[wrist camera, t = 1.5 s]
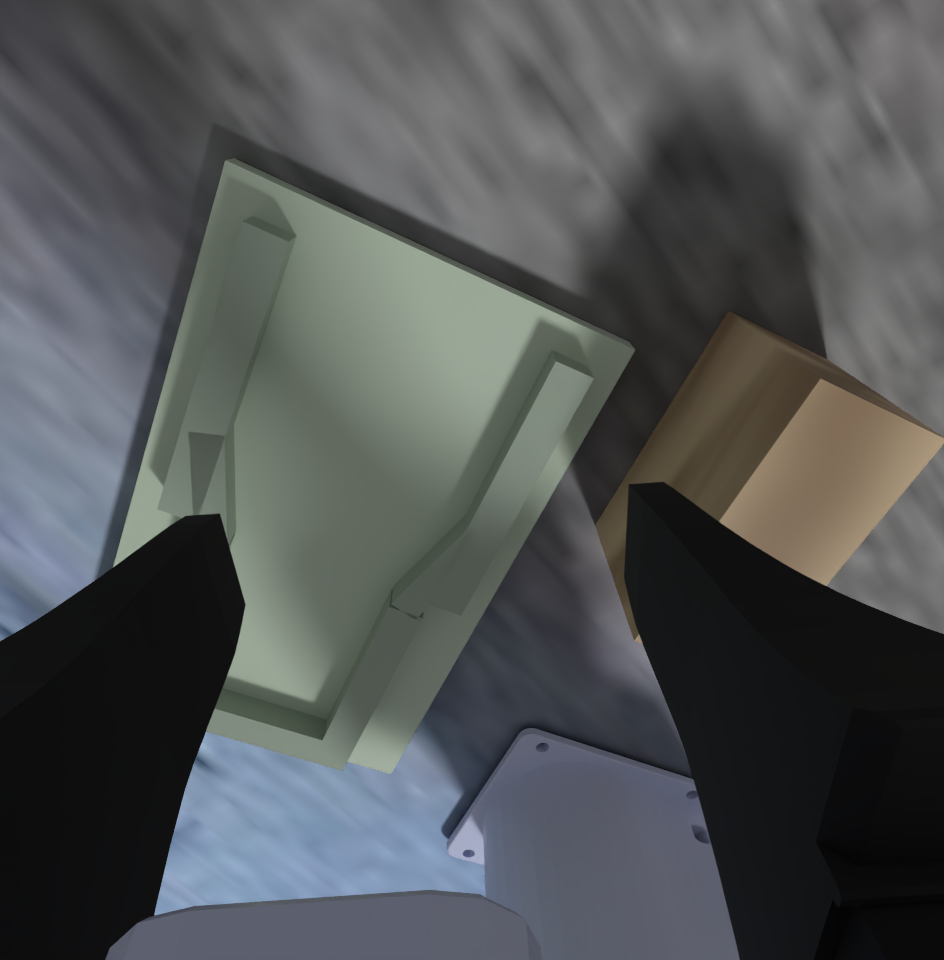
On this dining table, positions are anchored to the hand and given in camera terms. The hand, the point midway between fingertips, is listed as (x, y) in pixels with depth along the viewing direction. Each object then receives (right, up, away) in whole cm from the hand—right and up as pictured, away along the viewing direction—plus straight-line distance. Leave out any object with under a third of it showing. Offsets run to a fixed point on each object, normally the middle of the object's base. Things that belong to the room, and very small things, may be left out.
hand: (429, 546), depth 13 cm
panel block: (+8, +2, +10) cm, 13 cm away
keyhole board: (-4, -1, +11) cm, 12 cm away
